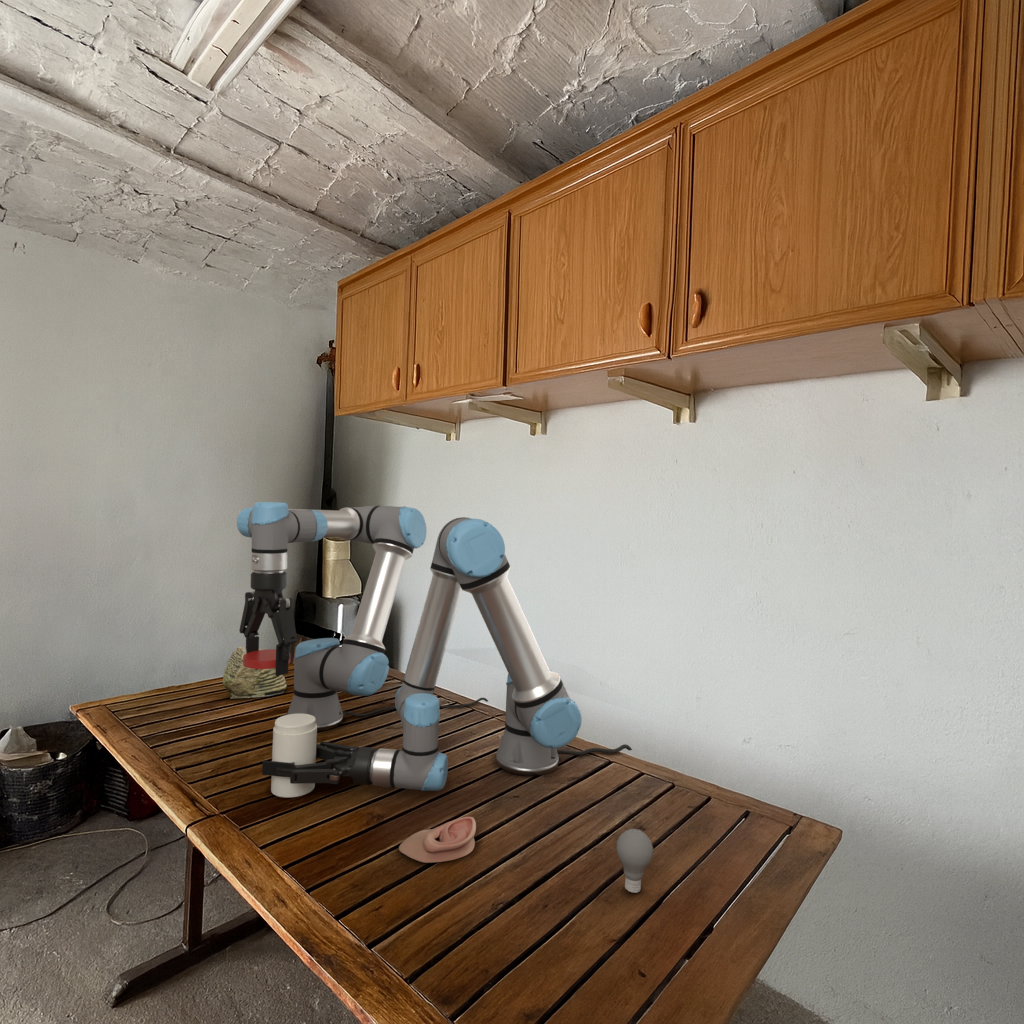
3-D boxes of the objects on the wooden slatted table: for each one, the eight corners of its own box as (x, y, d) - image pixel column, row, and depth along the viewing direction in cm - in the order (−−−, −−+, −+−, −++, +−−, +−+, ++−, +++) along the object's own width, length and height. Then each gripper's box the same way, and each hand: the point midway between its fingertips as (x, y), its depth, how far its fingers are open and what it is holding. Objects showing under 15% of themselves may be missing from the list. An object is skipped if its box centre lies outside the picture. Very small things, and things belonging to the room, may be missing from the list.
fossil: (218, 695, 195) (220, 647, 195) (278, 685, 208) (279, 640, 207) (228, 703, 189) (230, 653, 188) (289, 692, 201) (290, 645, 201)
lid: (263, 671, 135) (263, 663, 135) (232, 664, 140) (233, 656, 140) (299, 661, 144) (300, 653, 144) (270, 654, 149) (270, 647, 149)
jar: (270, 781, 140) (273, 714, 139) (313, 776, 143) (315, 711, 143) (271, 800, 131) (274, 729, 131) (316, 794, 135) (319, 725, 134)
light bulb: (610, 879, 108) (613, 822, 108) (644, 879, 109) (647, 822, 109) (619, 902, 102) (622, 840, 102) (655, 901, 103) (658, 840, 103)
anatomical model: (392, 835, 112) (415, 805, 123) (391, 857, 112) (414, 825, 123) (465, 847, 109) (481, 815, 121) (464, 869, 109) (480, 835, 121)
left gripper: (223, 567, 144) (221, 664, 145) (287, 578, 132) (284, 683, 133) (253, 565, 151) (250, 657, 151) (316, 574, 138) (313, 675, 139)
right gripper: (357, 808, 125) (247, 798, 127) (388, 763, 146) (295, 755, 148) (358, 770, 125) (249, 761, 127) (390, 731, 146) (296, 723, 148)
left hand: (266, 669), depth 142 cm, fingers closed on lid, 10 cm apart
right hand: (274, 758), depth 138 cm, fingers closed on jar, 9 cm apart
